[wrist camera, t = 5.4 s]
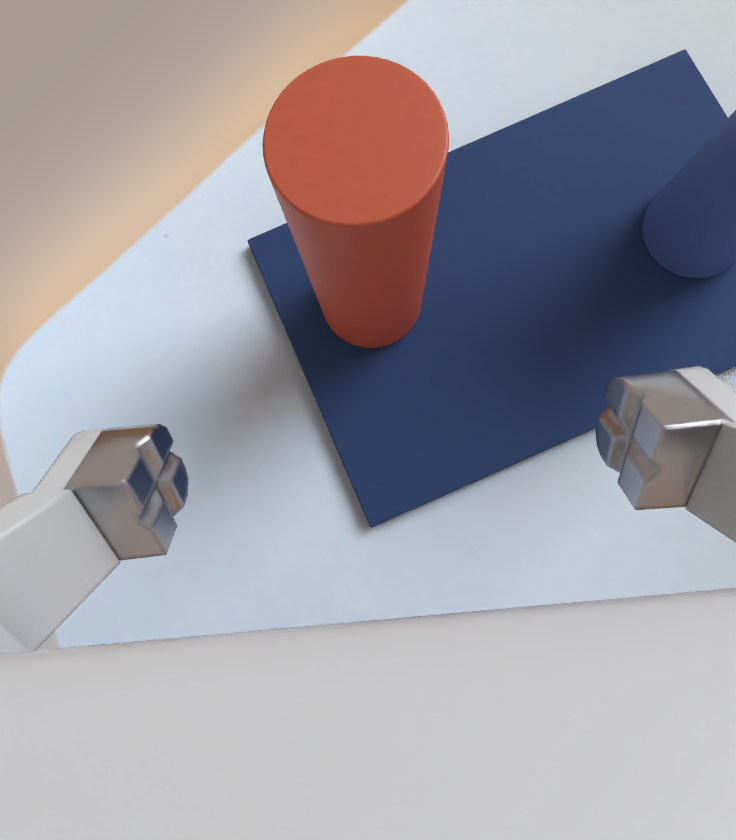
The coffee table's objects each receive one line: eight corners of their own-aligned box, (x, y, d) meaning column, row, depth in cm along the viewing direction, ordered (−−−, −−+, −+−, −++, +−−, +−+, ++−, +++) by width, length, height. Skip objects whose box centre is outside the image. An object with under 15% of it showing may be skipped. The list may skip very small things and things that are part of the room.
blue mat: (371, 526, 20) (370, 528, 20) (249, 245, 22) (246, 239, 22) (839, 318, 21) (850, 314, 20) (679, 57, 22) (685, 48, 22)
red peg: (345, 364, 21) (304, 256, 11) (306, 277, 21) (234, 98, 11) (438, 323, 21) (481, 178, 11) (396, 237, 21) (401, 26, 12)
